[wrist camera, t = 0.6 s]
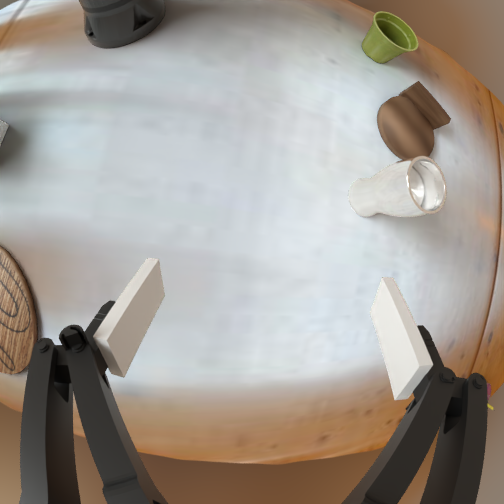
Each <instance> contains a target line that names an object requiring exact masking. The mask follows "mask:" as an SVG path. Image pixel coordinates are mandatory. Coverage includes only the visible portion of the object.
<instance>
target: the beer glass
mask: <svg viewBox="0 0 504 504" xmlns="http://www.w3.org/2000/svg"><path fill="white" fill-rule="evenodd" d="M445 199H446V182H445V178H444V175H443V173H442V171H441V169H440V167H439V166H438V165H437V163H436V162H435V161H433V160H432V159H431V158H429V157H426V156H418V157H415V158H410V159H405V160H401V161H398V162H395V163H393V164H391V165H389V166H387V167H385V168H384V169H382V170H381V171H379V172H378V173H377V174H375V175H374V176H373V177H371V178H360V179H357V180H355V181H354V182H353V183H352V184H351V186H350V188H349V191H348V200H349V204H350V206H351V208H352V209H353V211H354V212H355V213H356V214H358V215H360V216H362V217H370V216H373V215H375V214H377V213H382V214H386V215H391V216H396V217H416V216H422V215H427V214H434V213H437V212H438V211H439V210H440V209H441V208H442V207H443V205H444V203H445Z"/></svg>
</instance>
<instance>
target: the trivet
mask: <svg viewBox="0 0 504 504" xmlns="http://www.w3.org/2000/svg"><path fill="white" fill-rule="evenodd" d="M37 340H38V328H37V316H36V312H35V307H34V302H33V298H32V295H31V292H30V290H29V287H28V284H27V281H26V279H25V277H24V275H23V273H22V271H21V269H20V268H19V266H18V264H17V262H16V261H15V260H14V259H13V257H12V256H11V255H10V254H9V252H8V251H7V250H5V249H4V248H3V247H1V246H0V372H2V373H7V374H15V373H18V372H21V371H22V370H23V369H24V368H25V367H27V366H28V365H29V364H30V359H31V355H32V350H33V347H34V344H35V343H36V342H37Z"/></svg>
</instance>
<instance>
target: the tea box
mask: <svg viewBox="0 0 504 504" xmlns="http://www.w3.org/2000/svg"><path fill="white" fill-rule="evenodd" d="M8 127H9V125H8V124H7V123H6V122H4V121H2V120H0V146H1V143H2V141H3V139H4V136H5V134H6V131H7V129H8Z"/></svg>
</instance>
